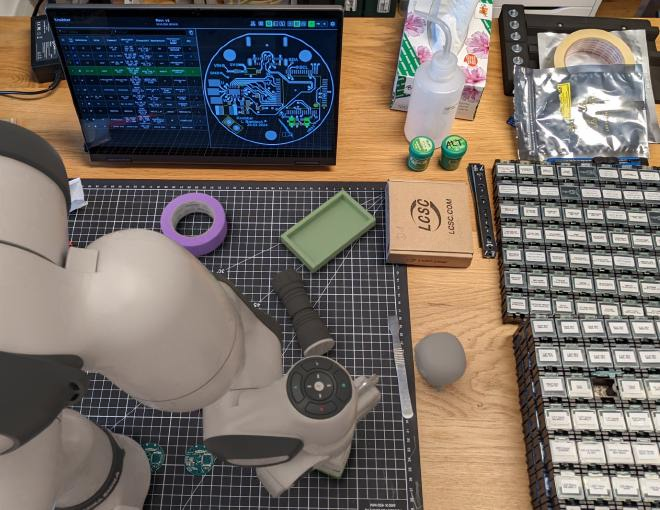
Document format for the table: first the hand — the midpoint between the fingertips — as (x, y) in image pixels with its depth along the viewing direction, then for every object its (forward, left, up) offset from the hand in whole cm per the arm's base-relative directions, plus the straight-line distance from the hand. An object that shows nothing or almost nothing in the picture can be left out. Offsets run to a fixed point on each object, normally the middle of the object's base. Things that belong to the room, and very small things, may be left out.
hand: (322, 446), depth 92 cm
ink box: (0, 0, -6) cm, 5 cm away
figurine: (+22, -3, -5) cm, 23 cm away
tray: (+28, +29, -5) cm, 41 cm away
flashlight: (+13, +19, -6) cm, 24 cm away
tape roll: (+10, +46, -5) cm, 47 cm away
